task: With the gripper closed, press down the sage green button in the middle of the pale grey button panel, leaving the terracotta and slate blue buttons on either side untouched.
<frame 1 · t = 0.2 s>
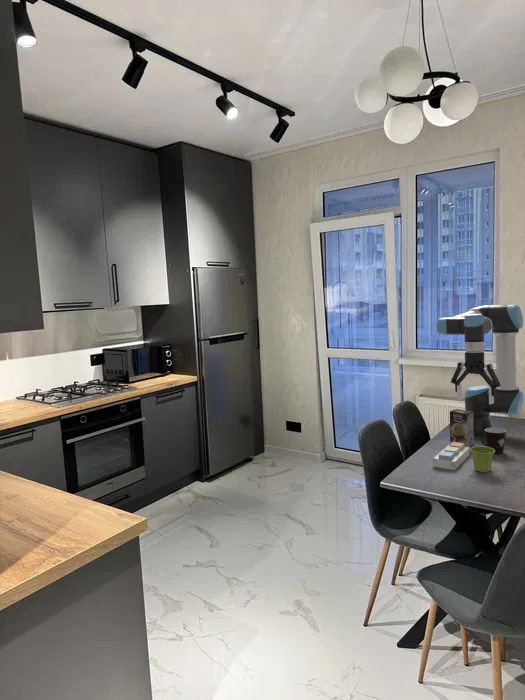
hand: (475, 401, 212), 27 cm above the table, tool pointing down, fingers open, 13 cm apart
sage button: (451, 452, 222), point 4 cm above the table, slide at 0.0 cm
coffee box: (461, 444, 243), on the table
coffee mug: (492, 452, 230), on the table
plant pot: (482, 470, 209), on the table
button panel: (452, 460, 222), on the table
slate button: (446, 457, 216), point 4 cm above the table, slide at 0.0 cm
terracotta button: (457, 447, 227), point 4 cm above the table, slide at 0.0 cm
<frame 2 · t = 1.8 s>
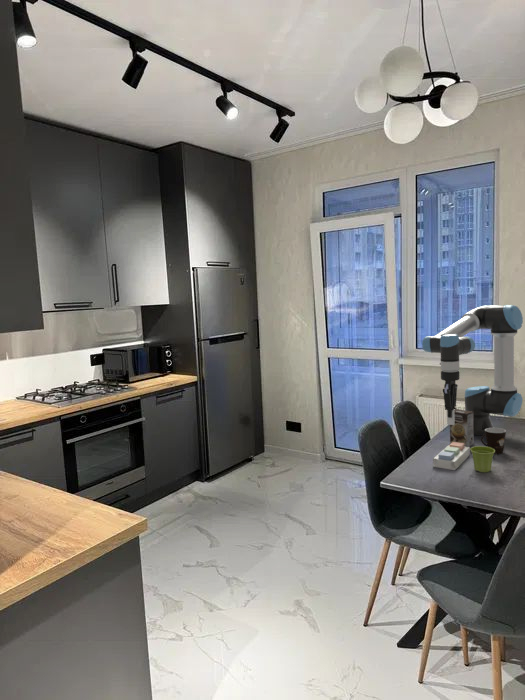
hand: (450, 424, 220), 16 cm above the table, tool pointing down, fingers closed
nothing on the table moved.
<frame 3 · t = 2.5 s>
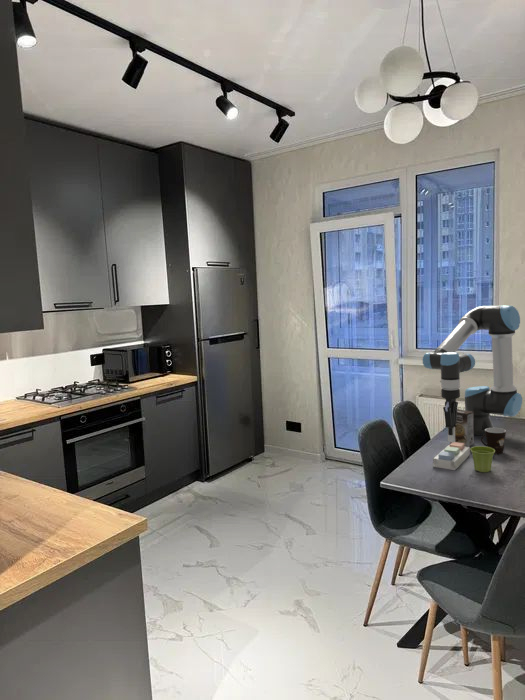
hand: (451, 441, 221), 9 cm above the table, tool pointing down, fingers closed
nothing on the table moved.
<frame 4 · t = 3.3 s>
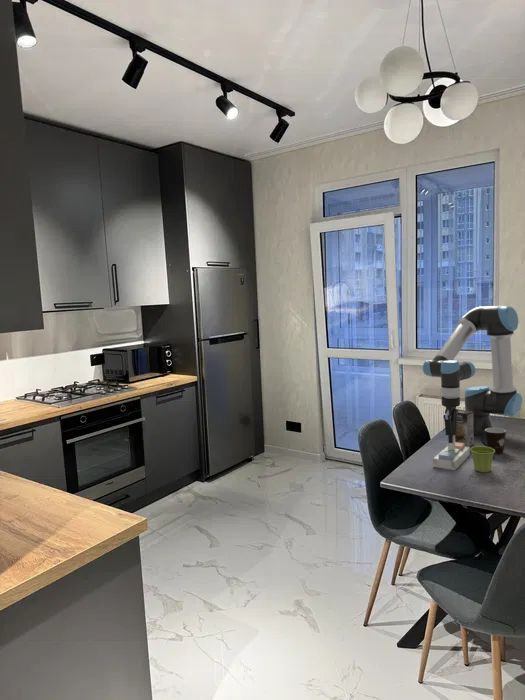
hand: (451, 449, 221), 5 cm above the table, tool pointing down, fingers closed
sage button: (451, 453, 222), point 3 cm above the table, slide at 0.5 cm, touching gripper
everything else where it was.
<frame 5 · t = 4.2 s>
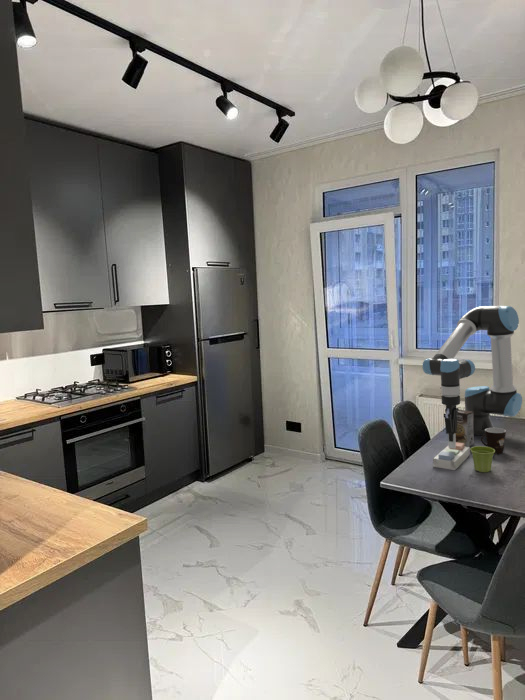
hand: (452, 447, 222), 6 cm above the table, tool pointing down, fingers closed
sage button: (451, 454, 222), point 3 cm above the table, slide at 1.0 cm
everything else where it was.
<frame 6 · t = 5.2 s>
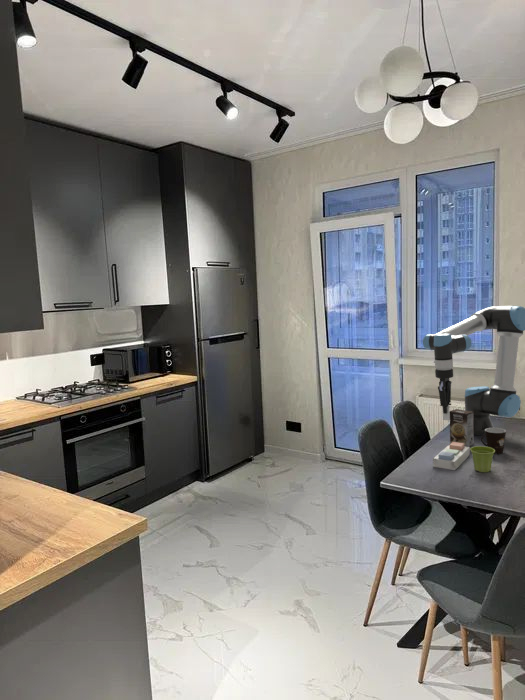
hand: (446, 419, 229), 16 cm above the table, tool pointing down, fingers closed
nothing on the table moved.
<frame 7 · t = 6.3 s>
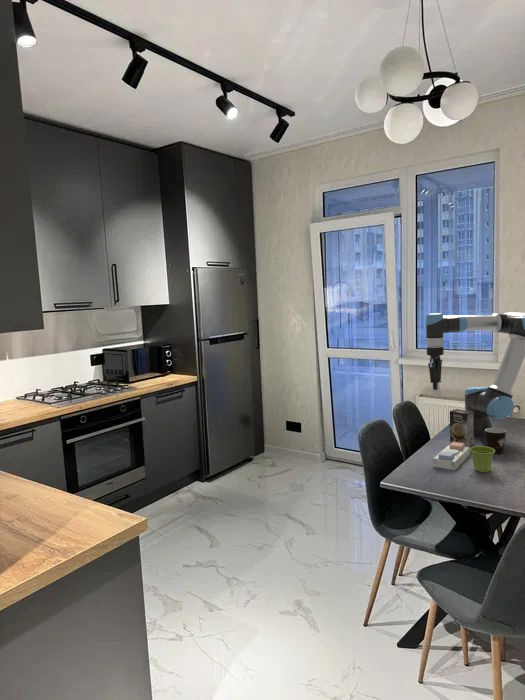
hand: (436, 396, 240), 24 cm above the table, tool pointing down, fingers closed
nothing on the table moved.
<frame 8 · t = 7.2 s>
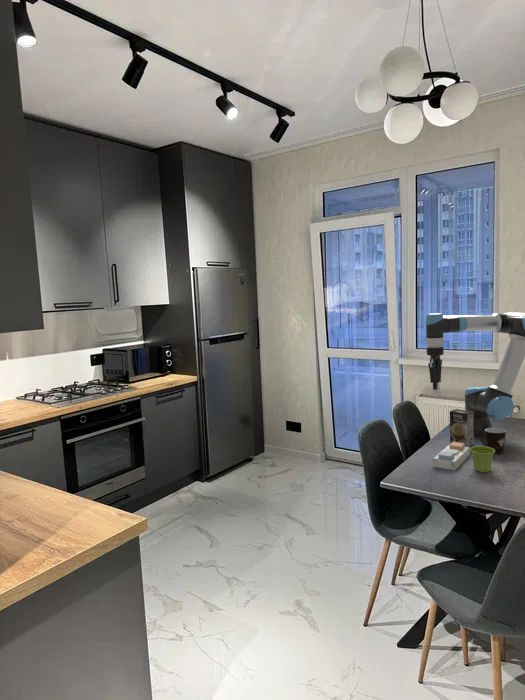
hand: (436, 396, 240), 24 cm above the table, tool pointing down, fingers closed
nothing on the table moved.
at the end: sage button slide at 1.0 cm; terracotta button slide at 0.0 cm; slate button slide at 0.0 cm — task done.
